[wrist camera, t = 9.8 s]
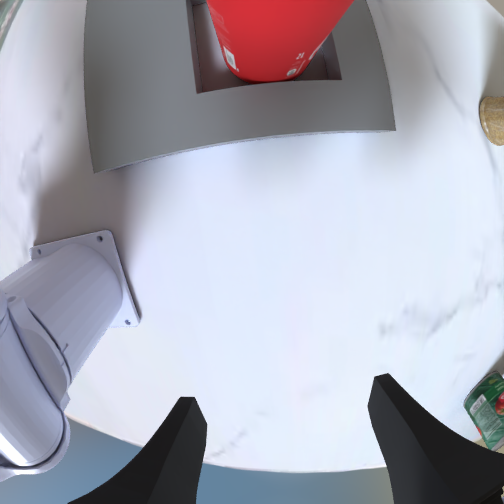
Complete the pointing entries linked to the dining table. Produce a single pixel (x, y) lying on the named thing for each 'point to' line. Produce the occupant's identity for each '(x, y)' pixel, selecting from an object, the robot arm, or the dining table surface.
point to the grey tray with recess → (218, 101)
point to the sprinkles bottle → (493, 119)
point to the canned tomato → (488, 409)
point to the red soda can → (273, 35)
